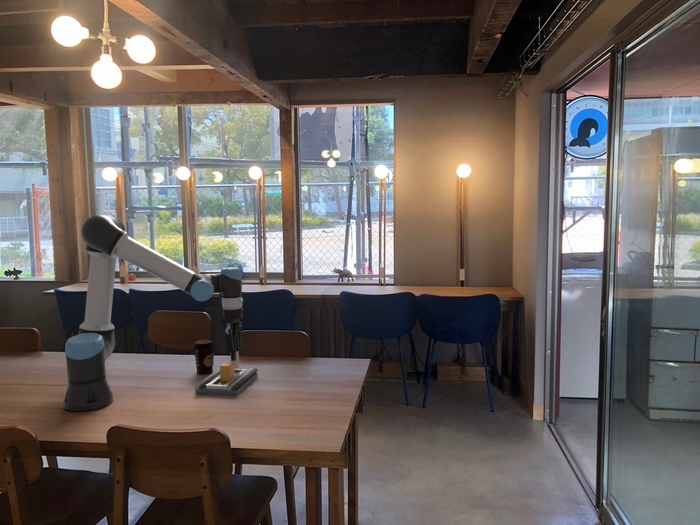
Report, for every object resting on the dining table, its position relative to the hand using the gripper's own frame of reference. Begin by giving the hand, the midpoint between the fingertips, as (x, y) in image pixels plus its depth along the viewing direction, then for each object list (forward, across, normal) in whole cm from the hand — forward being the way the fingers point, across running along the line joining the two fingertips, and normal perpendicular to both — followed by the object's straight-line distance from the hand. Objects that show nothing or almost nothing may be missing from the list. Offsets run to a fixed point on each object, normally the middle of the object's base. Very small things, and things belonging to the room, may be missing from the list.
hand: (235, 367), depth 206 cm
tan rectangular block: (+2, -7, 0) cm, 8 cm away
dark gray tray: (+2, -7, 0) cm, 8 cm away
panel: (+4, -7, 0) cm, 9 cm away
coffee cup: (+5, +5, +15) cm, 17 cm away
